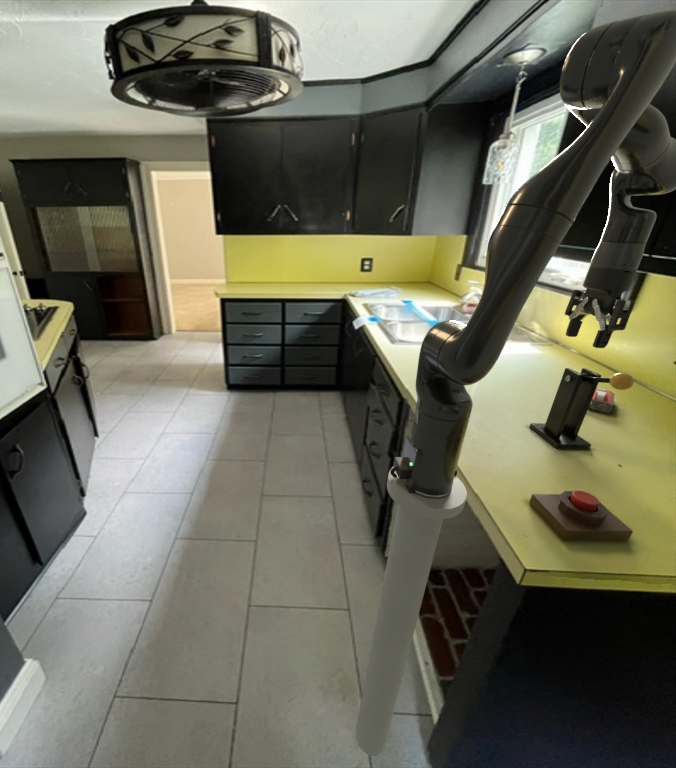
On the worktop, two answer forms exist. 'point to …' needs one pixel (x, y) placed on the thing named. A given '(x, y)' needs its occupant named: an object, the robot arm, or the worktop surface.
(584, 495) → the release button
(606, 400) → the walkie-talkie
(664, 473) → the worktop surface
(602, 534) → the button base
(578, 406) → the bracket
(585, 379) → the latch lever
